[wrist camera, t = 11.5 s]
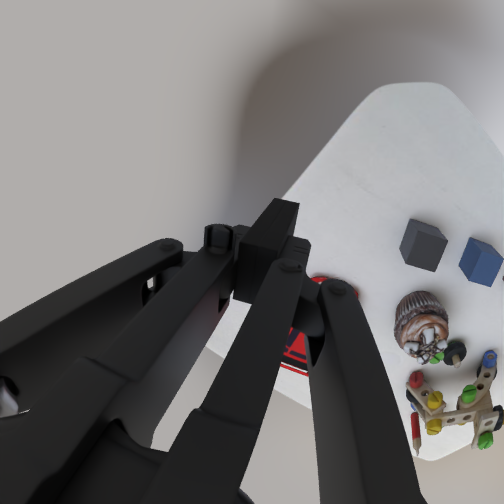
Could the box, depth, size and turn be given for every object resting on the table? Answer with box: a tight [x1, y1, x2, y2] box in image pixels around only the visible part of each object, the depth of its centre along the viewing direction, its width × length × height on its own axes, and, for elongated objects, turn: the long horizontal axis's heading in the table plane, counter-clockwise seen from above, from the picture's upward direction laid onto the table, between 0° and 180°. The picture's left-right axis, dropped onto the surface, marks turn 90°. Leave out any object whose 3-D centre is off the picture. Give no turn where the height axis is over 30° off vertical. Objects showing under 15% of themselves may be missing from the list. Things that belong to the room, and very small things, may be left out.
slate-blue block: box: [459, 238, 504, 287], centre depth 34 cm, size 5×5×5 cm
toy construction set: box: [406, 342, 504, 456], centre depth 38 cm, size 27×22×21 cm
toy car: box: [280, 277, 358, 377], centre depth 47 cm, size 10×20×5 cm, turn 166°
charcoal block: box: [399, 219, 448, 272], centre depth 36 cm, size 5×5×5 cm
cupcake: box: [394, 291, 449, 365], centre depth 38 cm, size 10×10×10 cm
